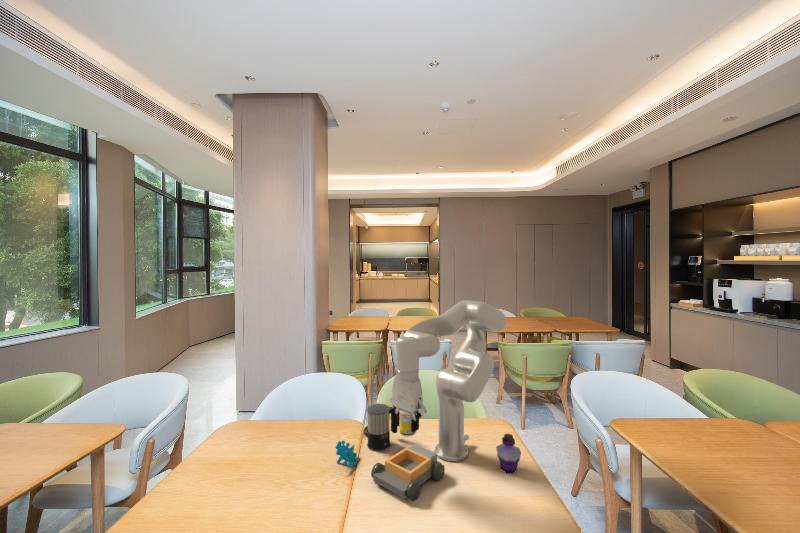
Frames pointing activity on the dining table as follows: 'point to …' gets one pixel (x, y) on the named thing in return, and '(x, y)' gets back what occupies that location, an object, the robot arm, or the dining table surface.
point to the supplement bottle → (405, 423)
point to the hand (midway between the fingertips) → (407, 427)
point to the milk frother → (380, 426)
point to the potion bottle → (508, 454)
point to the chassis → (408, 471)
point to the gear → (346, 453)
